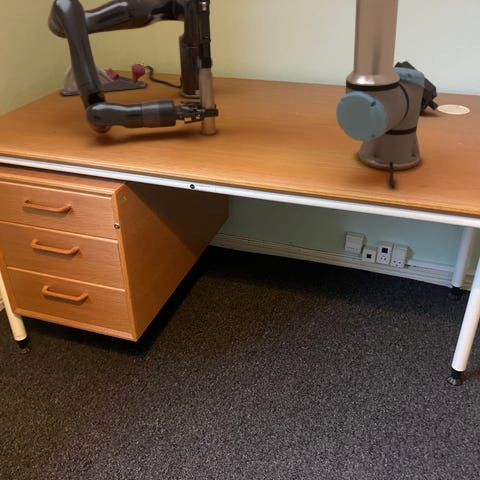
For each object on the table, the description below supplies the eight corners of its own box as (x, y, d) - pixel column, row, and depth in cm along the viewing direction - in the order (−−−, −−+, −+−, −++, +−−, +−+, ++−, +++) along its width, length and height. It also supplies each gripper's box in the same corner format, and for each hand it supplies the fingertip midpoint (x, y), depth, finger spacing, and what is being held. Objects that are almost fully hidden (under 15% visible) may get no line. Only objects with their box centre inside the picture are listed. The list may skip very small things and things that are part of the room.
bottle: (210, 128, 161) (206, 57, 150) (218, 132, 158) (215, 60, 147) (198, 131, 159) (194, 60, 148) (207, 135, 156) (203, 62, 145)
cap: (207, 63, 150) (206, 56, 149) (215, 66, 148) (215, 58, 147) (195, 65, 148) (194, 58, 147) (203, 68, 146) (203, 61, 145)
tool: (376, 92, 179) (403, 55, 168) (419, 129, 175) (449, 94, 164) (367, 96, 175) (394, 59, 164) (411, 135, 171) (441, 99, 160)
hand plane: (62, 90, 197) (53, 48, 189) (145, 82, 205) (140, 41, 197) (62, 96, 191) (54, 53, 184) (148, 87, 199) (143, 45, 191)
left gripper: (158, 109, 145) (220, 104, 147) (155, 94, 157) (213, 90, 159) (160, 135, 149) (221, 130, 151) (158, 118, 161) (214, 114, 163)
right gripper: (219, -25, 128) (222, 73, 140) (211, -32, 144) (215, 56, 156) (188, -23, 127) (194, 74, 140) (183, -31, 143) (189, 58, 155)
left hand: (216, 109), depth 155 cm, fingers closed on bottle, 4 cm apart
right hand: (205, 65), depth 148 cm, fingers open, 6 cm apart
